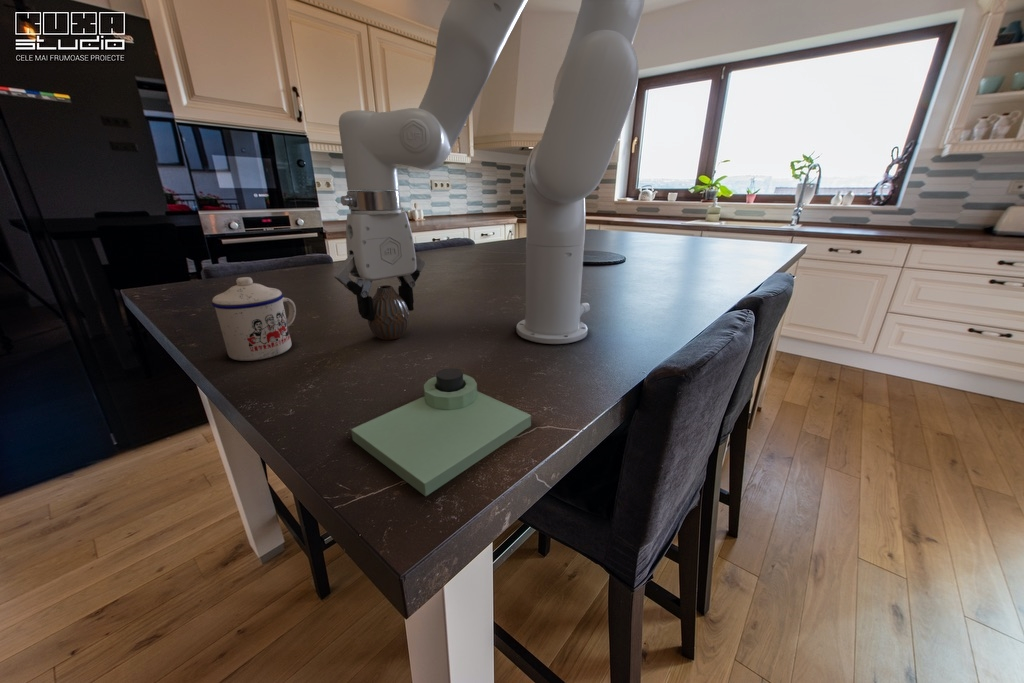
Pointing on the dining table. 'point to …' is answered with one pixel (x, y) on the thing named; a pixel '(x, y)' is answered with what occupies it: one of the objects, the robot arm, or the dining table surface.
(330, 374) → the dining table surface
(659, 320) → the dining table surface
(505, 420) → the scale
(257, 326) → the teacup with lid
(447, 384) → the button
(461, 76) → the robot arm
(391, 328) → the vase
